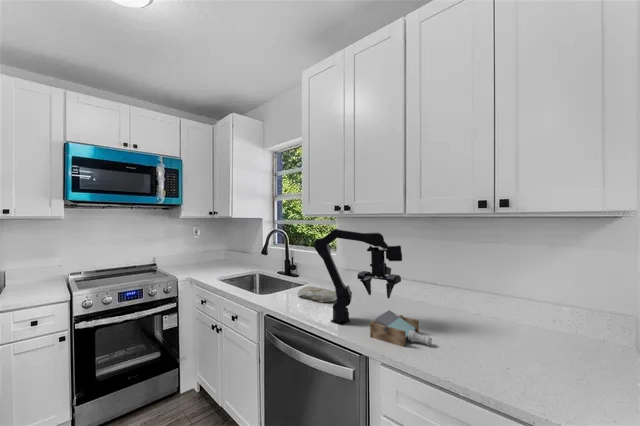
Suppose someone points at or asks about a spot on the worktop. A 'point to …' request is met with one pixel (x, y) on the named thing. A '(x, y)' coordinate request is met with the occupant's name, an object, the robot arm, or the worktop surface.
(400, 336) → the walnut stand
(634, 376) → the worktop surface
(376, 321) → the trapdoor flap
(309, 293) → the fossil stone
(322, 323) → the worktop surface
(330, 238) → the robot arm
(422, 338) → the rook chess piece
